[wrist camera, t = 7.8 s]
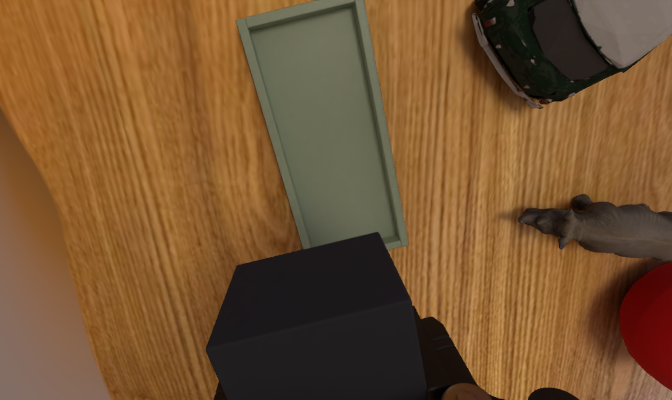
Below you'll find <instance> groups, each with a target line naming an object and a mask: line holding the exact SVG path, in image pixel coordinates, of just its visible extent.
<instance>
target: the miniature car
mask: <svg viewBox="0 0 672 400" xmlns="http://www.w3.org/2000/svg"><path fill="white" fill-rule="evenodd" d="M475 4H476V6H477V7H478V9H479V10H480V12H481V14H482V16H481V17H480V21H479V18H478V16H477V13H474V14H472V20H473V23H474V27H475V31H476V34H477V38H478V41H479V44H480V46H482V47H483V49H484V50H485V52H486V54H487V55H488V57H489V58H490V60H491V62H492V63H493V65H494V67H495V68H496V70H497V72H498V73H499V75H500V76H501V77H502V78H503V80H504V81H505V82H506V83H507V84H508V86H509V87H510V88H511V89H512V90H513V92H514V93H515V94H516V95H518V96H521V97H522V98H523V99H524V100H525V101H526V102H527V103H528V104H529V105H530V106H531V107H532V108H539V109H541V108H544V107H541V106H540V105H536V104H535V103H534V102H533V101H532V100H531V99H530V98H529V97H528V96H530V97H532V98H535V99H537V100H539V103H540V104H548V103H551V102H553V101H563V100H565V99H567V98H568V97H571V96H574V95H575V94H576V93H578V92H579V91H581V90H583V89H585V88H587V87H589V86H591V85H593V84H595V83H597V82H599V81H601V80H603V79H605V78H607V77H609V76H612V75H614V74H616V73H619V72H623V73H624V72H625V71H627V70H628V69H629V68H631V67H632V66H633V65H635V64H636V63H637V62H638V61H640V60H641V59H642V58H643V57H644V56H646V55H647V54H648V53H649V52H651V51H652V50H653V49H654V48H655V47H657V46H658V45H659V44H660V43H662V42H663V41H664V40H665V39H666V38H668V37H669V36H670V35H671V34H672V0H475ZM487 40H488V42H489V43H490V45H491V47H492V48H493V50H494V51H495V53H496V54H497V56H498V57H499V59H500V61H501V62H502V64H503V65H504V67H505V68H506V70H507V71H508V73H509V75H510V76H511V78H512V79H513V80H514V81H515V82H516V83H517V84H518V85H519V86H520V87H521V88H522V89H523V91H524V92H525V93H526V94H524V93H523V92H522V91H520V90H519V89H518V88H517V87H516V86H515V84H514V83H513V82H512V81H511V79H510V78H509V77H508V75H507V74H506V72H505V71H504V69H503V68H502V66H501V65H500V63H499V61H498V60H497V58H496V57H495V55H494V54H493V52H492V51H491V49H490V47H489V46H488V42H487ZM527 95H528V96H527Z"/></svg>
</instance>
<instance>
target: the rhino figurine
mask: <svg viewBox="0 0 672 400" xmlns="http://www.w3.org/2000/svg"><path fill="white" fill-rule="evenodd" d="M573 206H574V208H576V209H579V210H584V212H581V213H574V212H573V210H572V209H571V208H570V209H569V210H564V209H553V208H551V209H536V208H528V209H526V210H525V211H524V212H523V215H522V216H520V217H519V218H518V222H519V223H525V224H528V225H531V226H533V227H535V228H537V229H538V230H540V231H541V232H542V233H544V234H551V235H553V236H556V237H560V238H559V239H558V242H559V248H560V249H563V248H564V247H565V245H566V244H567V242H568V241H569V240H571V239H573V240H576V241H578V243H579V244H580V246H582V247H583V248H584V249H586V250H589V251H593V252H604V253H614V254H616V255H619V256H622V257H630V258H647V257H651V258H653V259H656V260H660V261H672V212H667V211H663V212H658V213H656V212H653V211H652V210H650V208H649V206H647V205H646V204H641V205H623V206H619V207H616V206H615V205H613V204H612V203H609V202H597V203H593V202H592V201H591V200H590V198H589V197H588V196H587V195H586V194H582V195H581V196H576V197H575V198H574V203H573Z"/></svg>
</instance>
